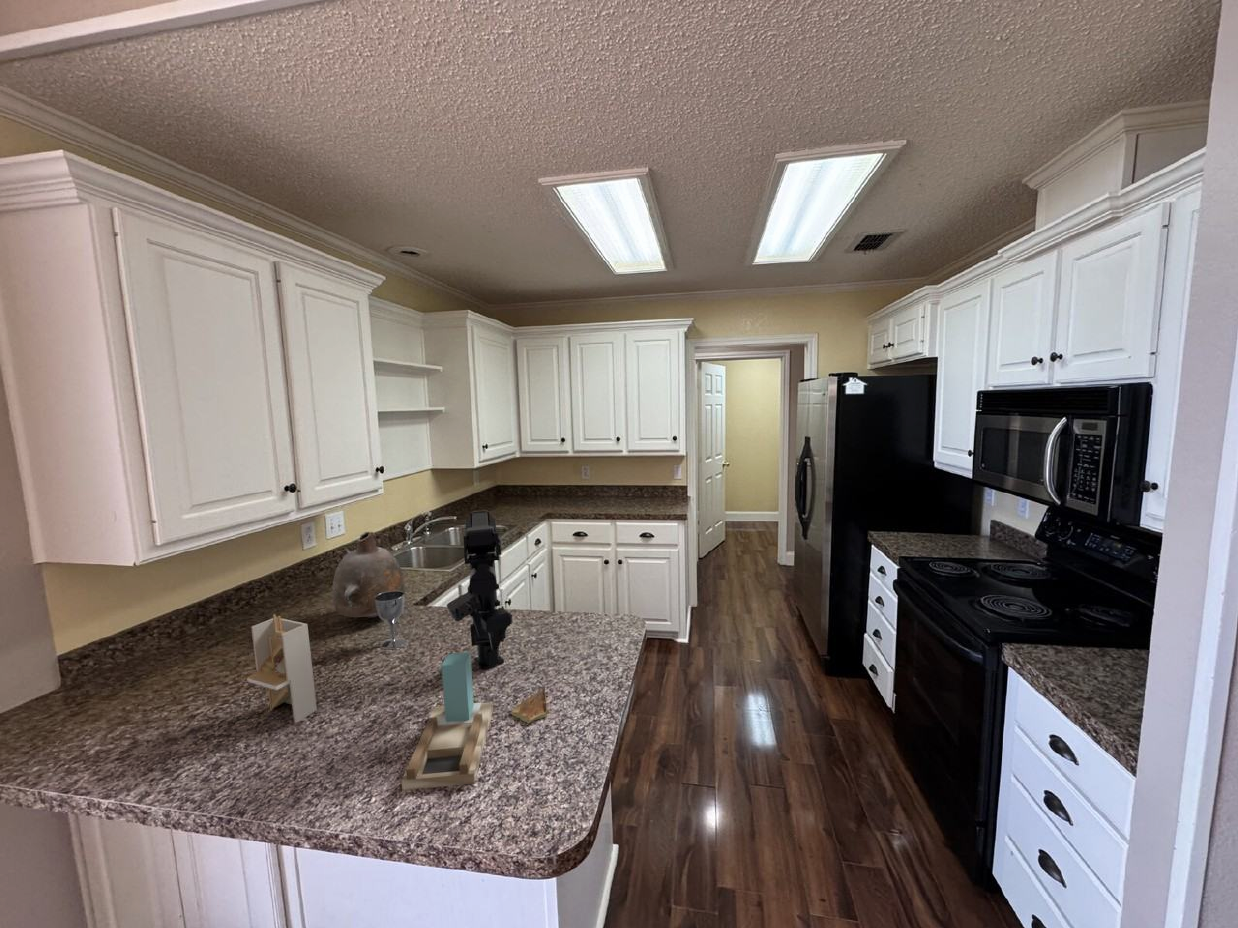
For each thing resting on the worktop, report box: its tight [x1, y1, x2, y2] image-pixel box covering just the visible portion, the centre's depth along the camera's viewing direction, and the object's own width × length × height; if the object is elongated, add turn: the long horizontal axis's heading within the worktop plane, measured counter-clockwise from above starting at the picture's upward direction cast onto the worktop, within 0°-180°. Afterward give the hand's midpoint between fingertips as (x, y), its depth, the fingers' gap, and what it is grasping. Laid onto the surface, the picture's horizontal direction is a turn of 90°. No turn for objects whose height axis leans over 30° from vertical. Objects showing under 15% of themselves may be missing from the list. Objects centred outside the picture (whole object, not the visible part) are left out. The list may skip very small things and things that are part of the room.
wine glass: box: [375, 590, 407, 650], centre depth 145 cm, size 8×8×15 cm
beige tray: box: [401, 701, 494, 791], centre depth 101 cm, size 22×13×4 cm, turn 6°
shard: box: [511, 687, 548, 724], centre depth 113 cm, size 11×8×2 cm
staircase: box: [246, 613, 318, 724], centre depth 112 cm, size 8×12×26 cm
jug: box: [332, 531, 406, 619], centre depth 162 cm, size 24×21×30 cm
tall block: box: [441, 651, 475, 722], centre depth 108 cm, size 5×5×13 cm
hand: (487, 643), depth 117 cm, fingers open, 9 cm apart
